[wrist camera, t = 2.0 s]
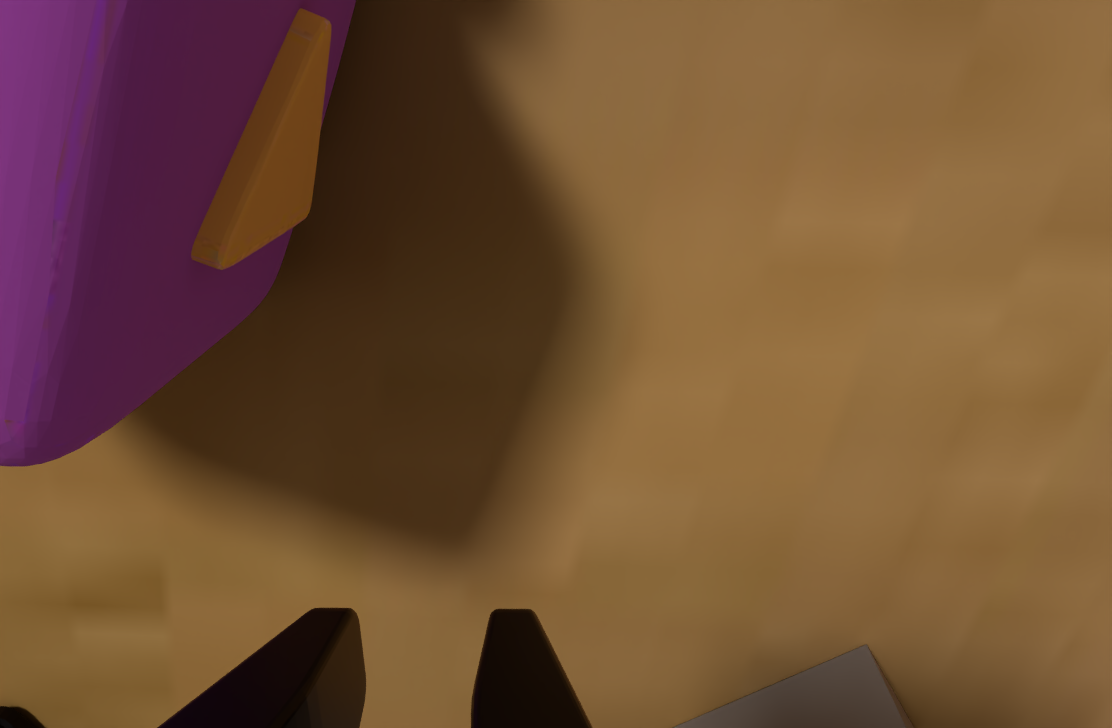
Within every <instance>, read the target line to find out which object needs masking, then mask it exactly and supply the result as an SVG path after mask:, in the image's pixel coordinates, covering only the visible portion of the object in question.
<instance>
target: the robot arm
mask: <svg viewBox="0 0 1112 728" xmlns="http://www.w3.org/2000/svg"><path fill="white" fill-rule="evenodd" d="M365 694H366V673H365V665H364V657H363V648H362V640H361V631H360V623H359V619H358V616H357V614H356V612H355V611H354V610H353V609H351V608H314V609H311V610H310V611H308V612H307V613H305V614H304V615H303V616H301V617H300V618H299V619H298V620H296V621H295V622H294V623H292V624H291V625H290V626H288V627H287V628H286V629H285V630H283V631H282V632H281V633H279V634H278V635H277V636H275V637H274V638H273V639H272V640H270V641H269V642H268V643H266V644H265V645H264V646H262V647H261V648H260V649H259V650H257V651H256V652H255V653H253V654H252V655H251V656H249V657H248V658H247V659H246V660H244V661H243V662H242V663H240V664H239V665H238V666H237V667H235V668H234V669H233V670H231V671H230V672H229V673H227V674H226V675H225V676H224V677H222V678H221V679H220V680H218V681H217V682H216V683H214V684H213V685H212V686H211V687H209V688H208V689H207V690H205V691H204V692H203V693H201V694H200V695H199V696H198V697H196V698H195V699H194V700H192V701H191V702H190V703H189V704H187V705H186V706H185V707H183V708H182V709H181V710H179V711H178V712H177V713H176V714H174V715H173V716H172V717H170V718H169V719H168V720H166V721H165V722H164V723H163V724H161V725H160V726H159V727H157V728H359V727H360V722H361V717H362V712H363V707H364V702H365ZM0 728H34V727H33V726H32V725H31V724H30V723H29V722H28V721H27V720H26V719H25V718H24V717H23V716H22V715H21V714H20V713H19V712H17V711H16V710H15V709H12V708H9V707H4V706H0ZM471 728H592V726H591V724H590V722H589V720H588V718H587V716H586V714H585V712H584V710H583V707H582V705H581V703H580V701H579V699H578V697H577V695H576V693H575V691H574V689H573V687H572V685H571V683H570V681H569V679H568V677H567V675H566V673H565V671H564V669H563V667H562V665H561V663H560V661H559V659H558V657H557V655H556V653H555V651H554V649H553V647H552V645H551V643H550V641H549V639H548V637H547V635H546V633H545V631H544V629H543V627H542V625H541V623H540V621H539V619H538V617H537V615H536V614H535V612H534V611H532V610H531V609H496V610H494V611H493V612H492V613H491V614H490V617H489V621H488V626H487V630H486V635H485V639H484V644H483V648H482V652H481V657H480V661H479V666H478V670H477V675H476V679H475V684H474V689H473V695H472V705H471Z"/></svg>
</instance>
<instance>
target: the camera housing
mask: <svg viewBox="0 0 1112 728" xmlns="http://www.w3.org/2000/svg"><path fill="white" fill-rule="evenodd" d="M673 728H914V727H913V725H912V723H911V721H910V720H909V718H908V716H907V714H906V713H905V711H904V709H903V707H902V706H901V704H900V702H899V700H898V699H897V697H896V695H895V693H894V692H893V690H892V688H891V686H890V685H889V683H888V681H887V679H886V678H885V676H884V674H883V672H882V671H881V669H880V667H879V665H878V664H877V662H876V660H875V658H874V657H873V655H872V653H871V651H870V650H869V648H868V646H867V644H866V645H864V646H862V647H859V648H857V649H855V650H852V651H850V652H848V653H845V654H843V655H841V656H838V657H836V658H834V659H831V660H829V661H827V662H824V663H822V664H820V665H818V666H815V667H813V668H811V669H808V670H806V671H804V672H801V673H799V674H797V675H794V676H792V677H790V678H787V679H785V680H783V681H780V682H778V683H776V684H773V685H771V686H769V687H766V688H764V689H762V690H759V691H757V692H755V693H752V694H750V695H748V696H745V697H743V698H741V699H738V700H736V701H734V702H731V703H729V704H727V705H725V706H722V707H720V708H718V709H715V710H713V711H711V712H708V713H706V714H704V715H701V716H699V717H697V718H694V719H692V720H690V721H687V722H685V723H683V724H680V725H678V726H676V727H673Z"/></svg>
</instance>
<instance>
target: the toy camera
mask: <svg viewBox="0 0 1112 728" xmlns="http://www.w3.org/2000/svg"><path fill="white" fill-rule="evenodd" d="M355 3H356V0H0V466H30V465H36V464H42V463H45V462H48V461H51V460H54V459H57V458H60V457H62V456H64V455H66V454H68V453H71V452H73V451H75V450H77V449H79V448H81V447H82V446H84V445H85V444H87V443H88V442H90V441H92V440H93V439H95V438H96V437H98V436H99V435H101V434H102V433H104V432H105V431H107V430H108V429H110V428H111V427H113V426H114V425H115V424H116V423H118V422H119V421H120V420H122V419H123V418H124V417H126V416H127V415H128V414H129V413H131V412H132V411H133V410H135V409H136V408H137V407H138V406H140V405H141V404H142V403H143V402H145V401H146V400H147V399H148V398H150V397H151V396H152V395H153V394H154V393H156V392H157V391H158V390H159V389H161V388H162V387H163V386H164V385H165V384H167V383H168V382H169V381H170V380H172V379H173V378H174V377H175V376H176V375H178V374H179V373H180V372H181V371H183V370H184V369H185V368H186V367H187V366H189V365H190V364H191V363H192V362H193V361H195V360H196V359H197V358H198V357H200V356H201V355H202V354H203V353H204V352H206V351H207V350H208V349H209V348H211V347H212V346H213V345H214V344H215V343H217V342H218V341H219V340H220V339H222V338H223V337H224V336H225V335H226V334H228V333H229V332H230V331H231V330H233V329H234V328H235V327H236V326H237V325H238V324H240V323H241V322H242V321H243V320H244V319H245V318H246V317H247V316H248V315H249V314H250V313H251V312H252V311H254V310H255V308H256V307H257V306H258V305H259V304H260V303H261V301H262V300H263V299H264V298H265V296H266V295H267V293H268V292H269V290H270V288H271V287H272V285H273V283H274V281H275V279H276V277H277V274H278V272H279V269H280V267H281V264H282V261H283V258H284V255H285V252H286V249H287V246H288V243H289V239H290V236H291V233H292V230H293V227H294V226H296V225H297V224H299V223H300V222H301V221H303V220H304V219H306V217H307V215H308V214H309V212H310V208H311V204H312V197H313V189H314V181H315V173H316V165H317V157H318V149H319V140H320V131H321V127H322V124H323V120H324V117H325V113H326V110H327V106H328V103H329V99H330V95H331V92H332V88H333V85H334V81H335V78H336V74H337V71H338V67H339V64H340V60H341V56H342V52H343V48H344V45H345V41H346V37H347V33H348V30H349V26H350V22H351V18H352V14H353V11H354V7H355Z"/></svg>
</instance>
